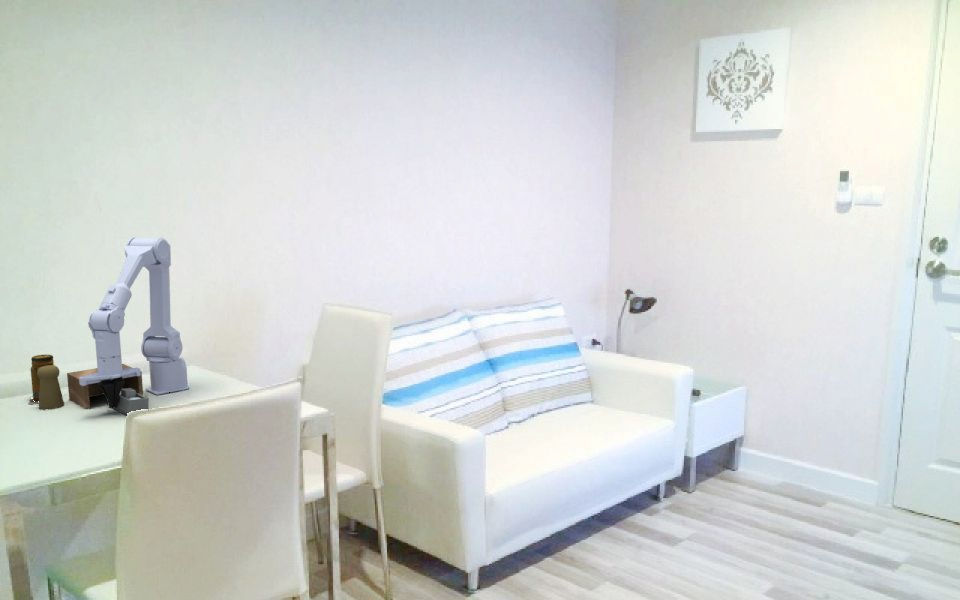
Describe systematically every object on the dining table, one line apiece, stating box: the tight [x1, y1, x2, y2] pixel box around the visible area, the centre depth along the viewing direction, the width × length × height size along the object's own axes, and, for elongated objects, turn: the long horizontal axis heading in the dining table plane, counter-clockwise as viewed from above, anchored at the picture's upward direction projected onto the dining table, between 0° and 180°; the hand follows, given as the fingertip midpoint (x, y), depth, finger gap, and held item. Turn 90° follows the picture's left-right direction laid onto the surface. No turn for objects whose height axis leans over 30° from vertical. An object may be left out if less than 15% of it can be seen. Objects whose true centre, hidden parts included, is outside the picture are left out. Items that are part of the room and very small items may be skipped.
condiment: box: [28, 354, 56, 405], centre depth 214 cm, size 7×8×12 cm
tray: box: [107, 388, 150, 416], centre depth 204 cm, size 5×14×5 cm, turn 45°
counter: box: [66, 363, 144, 410], centre depth 214 cm, size 15×13×8 cm
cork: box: [37, 365, 65, 410], centre depth 207 cm, size 6×6×11 cm
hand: (113, 407), depth 201 cm, fingers closed
